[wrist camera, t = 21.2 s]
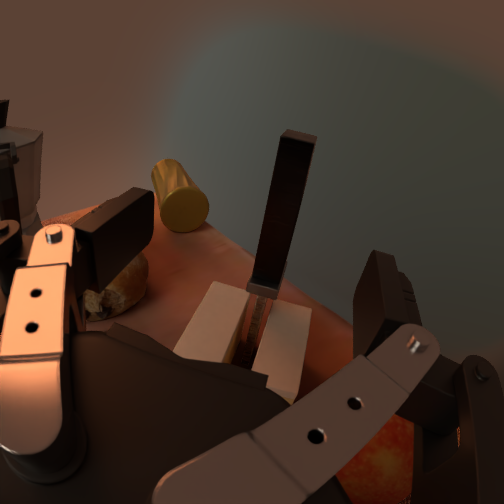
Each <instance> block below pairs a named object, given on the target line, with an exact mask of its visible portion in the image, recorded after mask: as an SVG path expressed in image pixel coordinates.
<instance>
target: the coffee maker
mask: <svg viewBox="0 0 504 504" xmlns="http://www.w3.org/2000/svg"><path fill="white" fill-rule="evenodd" d="M8 105H9V100H0V221H4V220H15V221H17V222H18V223H19V225H20V229H21V234H22V235H27V236H35V234H36V233H37V232H38V231H39V230H40V229H42V228H43V227H42V224H41V221H40V218H39V215H38V212H37V208H36V204H37V202H38V200H39V198H40V174H41V154H42V142H43V131H38V130H32V129H27V128H18V127H11V126H6V118H7V112H8Z"/></svg>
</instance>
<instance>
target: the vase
mask: <svg viewBox="0 0 504 504" xmlns="http://www.w3.org/2000/svg"><path fill="white" fill-rule="evenodd" d="M151 178H152V182H153V185H154V188H155V191H156V195H157V199H158V205H159V209H160V216H161V219H162V222H163V223H164V225H165V226H166V227H167V228H169V229H170V230H172V231H175V232H181V233H184V232H190V231H192V230H194V229H196V228H198V227H199V226H200V225H201V224H202V223H203V222H204V221H205V219H206V217H207V215H208V212H209V203H208V200H207V197H206V196H205V194H204V193H203V192H201V191H200V189H199V188H198V187H197V186H196V185H195V183H194V182H193V181H192V179H191V178H190V177H189V176H188V174H187V173H186V171H185V170H184V168H183V167H182V165H181V164H180V163H179V162H177V161H176V160H173V159H164V160H161V161H160V162H158V163H157V164H156V165H155V166H154V168H153V170H152V174H151Z"/></svg>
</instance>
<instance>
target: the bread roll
mask: <svg viewBox="0 0 504 504" xmlns="http://www.w3.org/2000/svg"><path fill="white" fill-rule="evenodd" d="M147 277H148V261H147V259H146V257H145V256H144V254H143V252H142V251H141V252H140V253H139V254H138V255H137V256H136V257H135V258H134V259H133V260H132V261H131V262H130V263H129V264H128V265H127V266H126V267H125V268H124V269H123V270H122V271H121V272H120V273H119V275H118V276H117V277H116V278H115V279H114V280H113V281H112V282H111V283H110V284H109V285H108V286H107V287H106V288H105V289H104V290H103V291H102V292H101V294H98V293H96V292H93V291H91V290H88V289H87V290H86V291H85V292H84V296H85V311H86V320H89V321H97V320H103V319H107V318H110V317H114V316H116V315H118V314H120V313H122V312H124V311H125V310H127V309H128V308H129V307H132V306H134V305H135V304H136V303H137V302H138V301H139V300H140V299H141V298H142V297H143V296H144V295H145V290H146V281H147Z"/></svg>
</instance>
